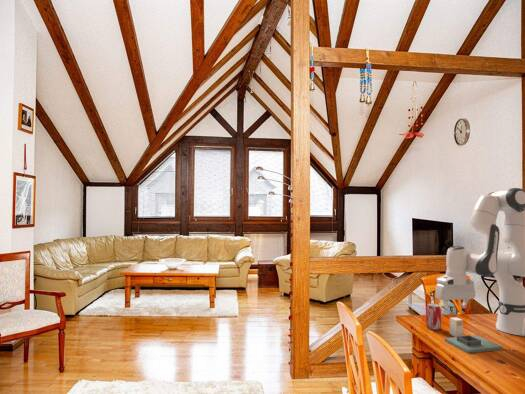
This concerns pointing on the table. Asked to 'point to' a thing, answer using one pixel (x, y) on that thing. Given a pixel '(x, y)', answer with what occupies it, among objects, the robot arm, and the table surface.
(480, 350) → the board
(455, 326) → the plug
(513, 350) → the table surface
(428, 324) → the soda can
